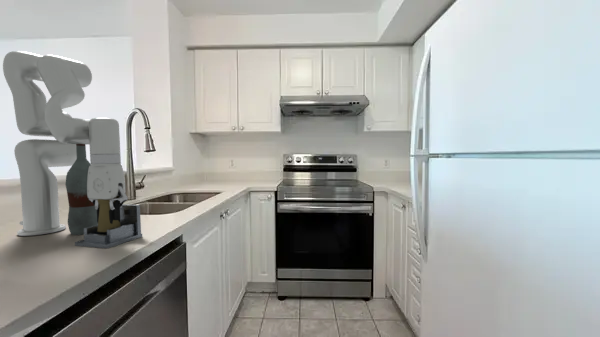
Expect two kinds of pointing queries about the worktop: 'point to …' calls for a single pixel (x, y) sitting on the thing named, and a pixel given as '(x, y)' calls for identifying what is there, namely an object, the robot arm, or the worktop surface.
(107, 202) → the cork
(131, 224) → the clip bracket
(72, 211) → the bottle
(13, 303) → the worktop surface
